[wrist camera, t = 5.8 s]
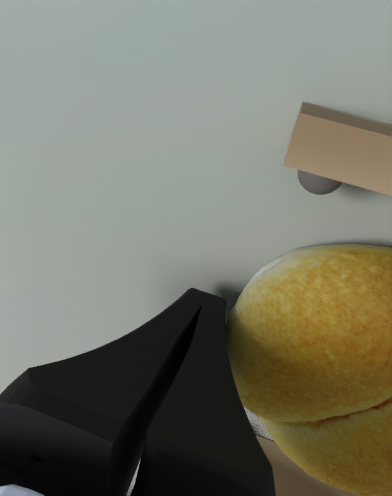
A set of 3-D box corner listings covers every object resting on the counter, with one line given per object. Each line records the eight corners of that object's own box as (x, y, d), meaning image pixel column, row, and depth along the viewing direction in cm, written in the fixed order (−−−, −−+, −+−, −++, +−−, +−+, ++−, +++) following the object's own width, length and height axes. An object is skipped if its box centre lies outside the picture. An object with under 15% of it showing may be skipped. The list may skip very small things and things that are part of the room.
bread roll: (392, 183, 11) (430, 240, 7) (521, 396, 13) (600, 521, 9) (183, 297, 15) (144, 369, 11) (305, 447, 16) (304, 549, 13)
